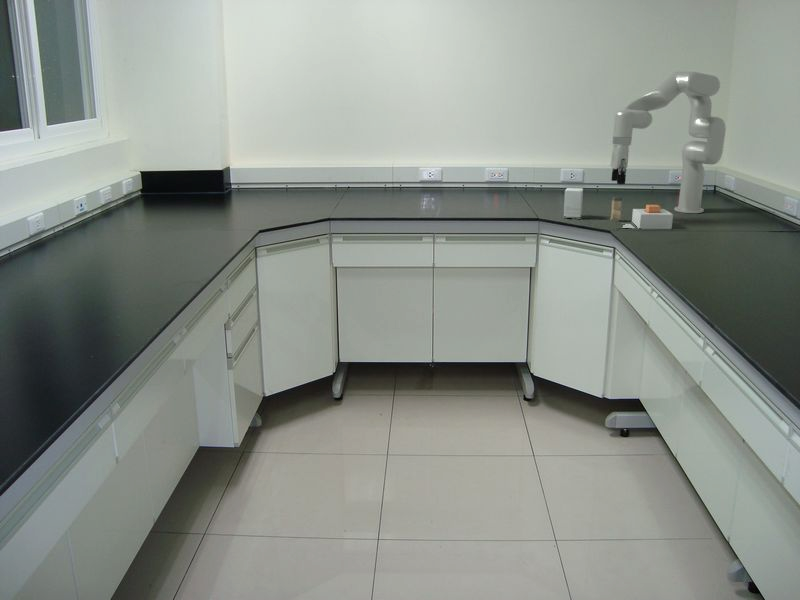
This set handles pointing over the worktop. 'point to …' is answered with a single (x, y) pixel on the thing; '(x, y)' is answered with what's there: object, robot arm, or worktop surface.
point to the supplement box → (573, 202)
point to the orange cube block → (652, 209)
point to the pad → (628, 226)
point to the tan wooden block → (616, 208)
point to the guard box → (652, 219)
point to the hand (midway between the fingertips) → (618, 182)
